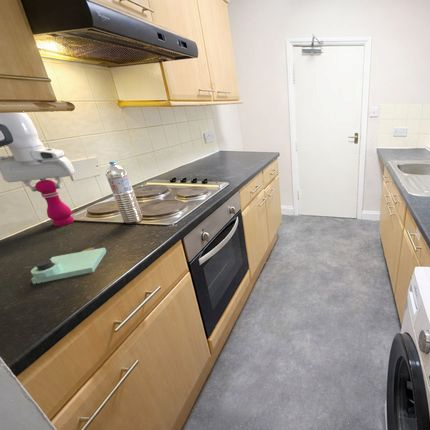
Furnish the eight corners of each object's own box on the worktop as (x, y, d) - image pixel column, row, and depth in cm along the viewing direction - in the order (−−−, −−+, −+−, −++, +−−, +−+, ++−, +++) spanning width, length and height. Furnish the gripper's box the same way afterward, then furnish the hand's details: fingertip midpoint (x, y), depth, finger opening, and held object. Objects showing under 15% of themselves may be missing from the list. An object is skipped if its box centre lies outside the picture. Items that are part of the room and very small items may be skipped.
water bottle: (122, 220, 110) (99, 161, 100) (141, 215, 114) (121, 158, 104) (125, 226, 106) (101, 164, 95) (145, 220, 110) (124, 161, 99)
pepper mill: (52, 223, 110) (27, 176, 101) (74, 217, 114) (53, 172, 106) (53, 228, 105) (28, 180, 97) (77, 222, 110) (55, 176, 101)
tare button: (36, 272, 74) (33, 267, 73) (42, 266, 77) (39, 261, 76) (50, 269, 75) (47, 264, 74) (56, 263, 78) (53, 258, 77)
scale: (32, 285, 74) (25, 275, 72) (54, 261, 84) (49, 252, 83) (93, 273, 78) (88, 263, 77) (106, 251, 89) (102, 242, 87)
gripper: (-14, 159, 92) (8, 196, 98) (60, 153, 98) (76, 188, 104) (-1, 155, 97) (18, 190, 103) (68, 150, 104) (82, 183, 109)
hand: (48, 189), depth 104 cm, fingers closed on pepper mill, 6 cm apart
